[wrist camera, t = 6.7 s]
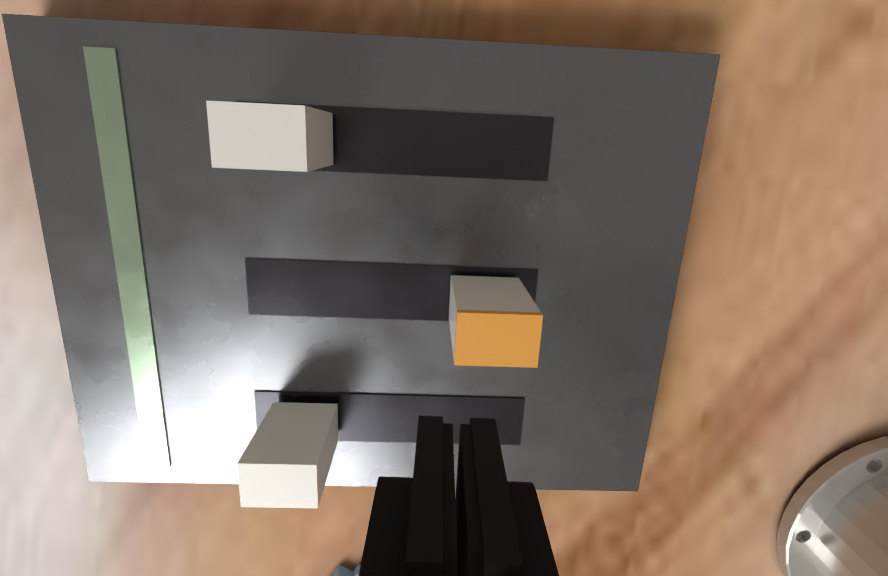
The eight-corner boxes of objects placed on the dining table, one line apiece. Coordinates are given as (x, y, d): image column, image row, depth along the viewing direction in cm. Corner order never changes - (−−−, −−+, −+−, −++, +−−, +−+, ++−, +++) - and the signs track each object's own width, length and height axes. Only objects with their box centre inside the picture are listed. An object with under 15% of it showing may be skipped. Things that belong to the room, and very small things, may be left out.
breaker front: (332, 113, 20) (304, 105, 15) (333, 164, 20) (307, 171, 16) (256, 109, 20) (205, 100, 15) (259, 161, 20) (211, 167, 16)
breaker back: (337, 403, 23) (316, 465, 19) (338, 440, 24) (317, 508, 20) (273, 402, 23) (237, 463, 19) (275, 439, 24) (240, 506, 19)
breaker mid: (518, 277, 22) (543, 315, 17) (514, 320, 22) (537, 367, 18) (451, 275, 22) (457, 312, 17) (448, 317, 22) (454, 365, 18)
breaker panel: (694, 62, 22) (721, 54, 20) (623, 467, 28) (638, 492, 26) (41, 25, 21) (-1, 13, 19) (113, 456, 27) (88, 482, 25)
